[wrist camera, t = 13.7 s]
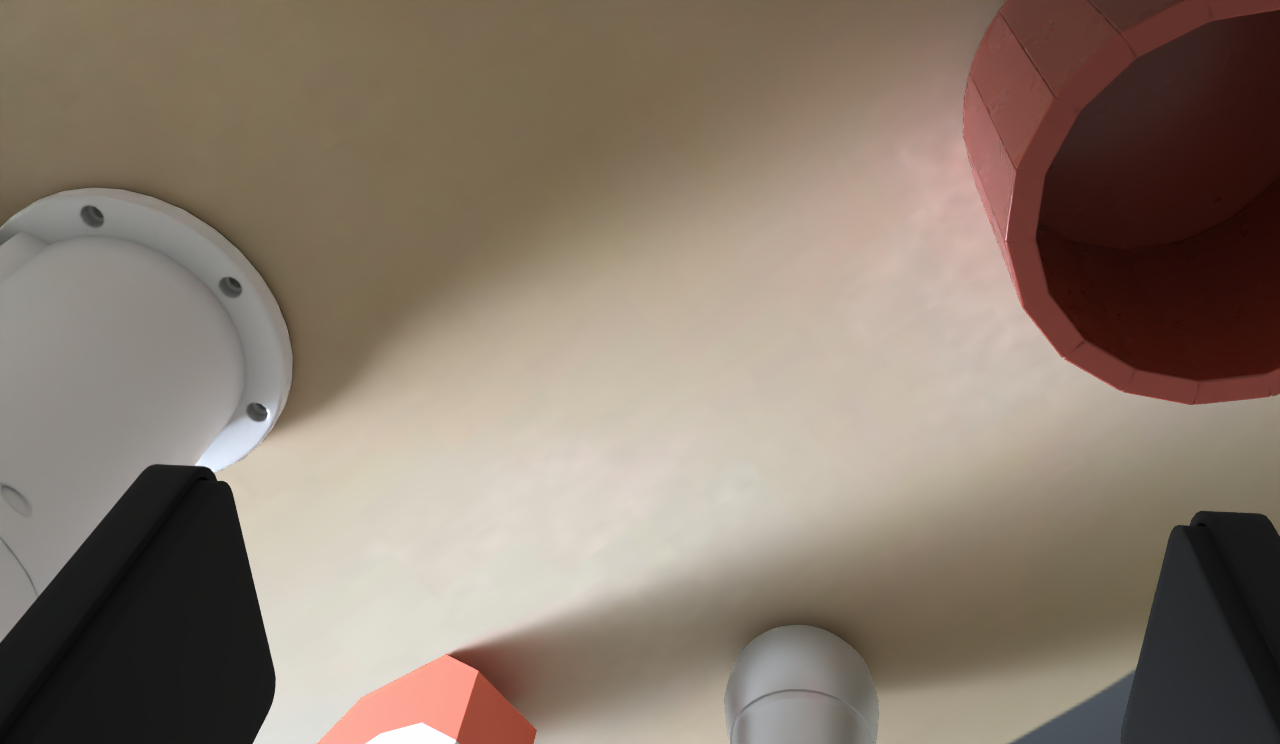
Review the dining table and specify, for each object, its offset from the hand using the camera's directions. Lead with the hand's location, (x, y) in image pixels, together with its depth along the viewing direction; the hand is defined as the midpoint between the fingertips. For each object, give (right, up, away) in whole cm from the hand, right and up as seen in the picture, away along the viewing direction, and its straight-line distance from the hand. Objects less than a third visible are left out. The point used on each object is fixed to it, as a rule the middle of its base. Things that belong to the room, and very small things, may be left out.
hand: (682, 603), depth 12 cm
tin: (+16, +11, +27) cm, 33 cm away
